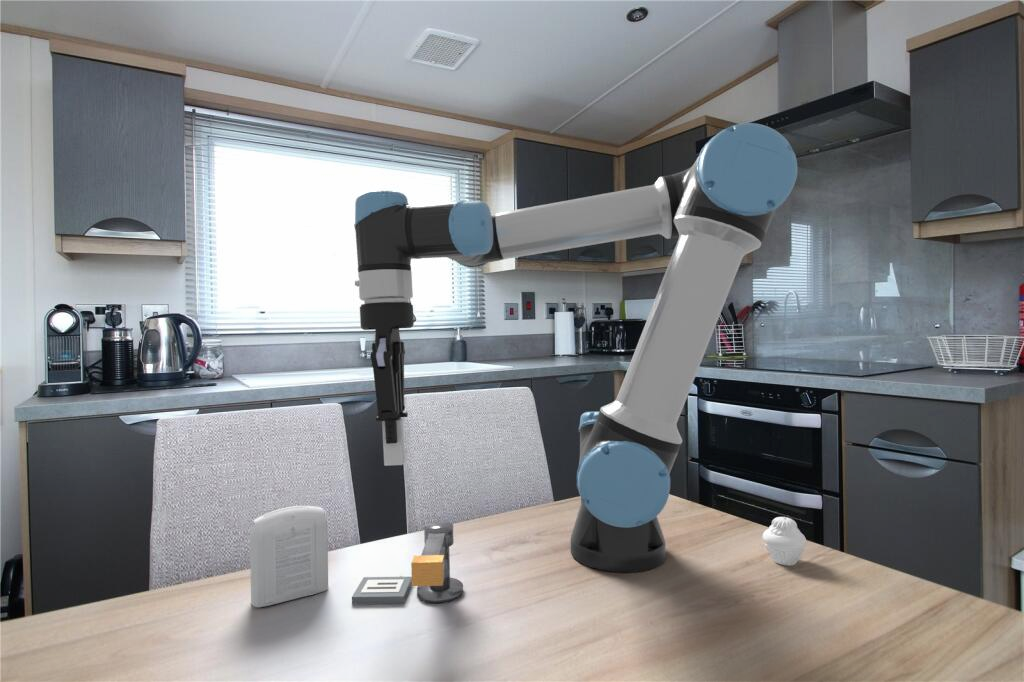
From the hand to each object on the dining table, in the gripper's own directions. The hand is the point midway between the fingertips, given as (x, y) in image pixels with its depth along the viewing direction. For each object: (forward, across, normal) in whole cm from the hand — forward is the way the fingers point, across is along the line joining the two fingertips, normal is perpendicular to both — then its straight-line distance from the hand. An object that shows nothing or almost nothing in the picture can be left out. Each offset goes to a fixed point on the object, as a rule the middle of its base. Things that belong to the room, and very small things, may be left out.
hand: (394, 463), depth 83 cm
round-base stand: (+18, +4, +6) cm, 19 cm away
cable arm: (+11, +9, +6) cm, 16 cm away
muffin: (+19, -4, +58) cm, 62 cm away
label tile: (+17, +4, -2) cm, 18 cm away
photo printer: (+17, +4, -15) cm, 23 cm away
